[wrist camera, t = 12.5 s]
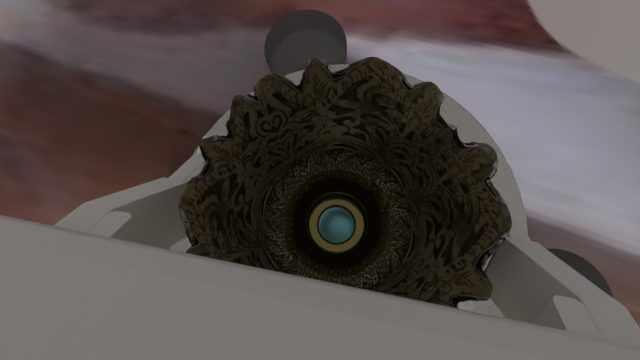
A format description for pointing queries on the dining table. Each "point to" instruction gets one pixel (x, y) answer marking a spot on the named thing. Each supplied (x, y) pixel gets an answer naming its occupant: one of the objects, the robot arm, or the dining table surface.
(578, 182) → the dining table surface
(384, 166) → the cup
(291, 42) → the leveling base
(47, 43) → the dining table surface
